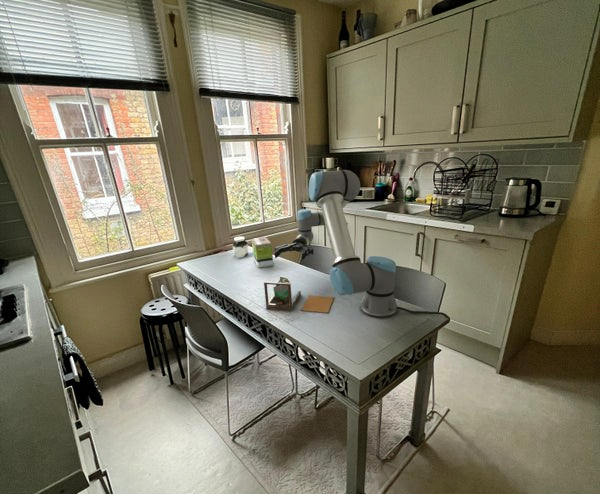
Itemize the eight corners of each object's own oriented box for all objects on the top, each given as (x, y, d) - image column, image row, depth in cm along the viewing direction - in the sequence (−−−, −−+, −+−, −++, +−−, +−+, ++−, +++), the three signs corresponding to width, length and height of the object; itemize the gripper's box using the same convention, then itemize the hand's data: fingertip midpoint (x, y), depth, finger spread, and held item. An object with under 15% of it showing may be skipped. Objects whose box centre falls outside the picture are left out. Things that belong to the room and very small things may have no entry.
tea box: (253, 260, 205) (251, 238, 199) (268, 258, 208) (266, 236, 201) (257, 268, 192) (255, 244, 186) (273, 265, 194) (271, 242, 188)
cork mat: (333, 298, 150) (333, 297, 149) (327, 313, 136) (327, 312, 136) (309, 296, 153) (309, 295, 152) (301, 310, 139) (301, 310, 139)
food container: (288, 307, 143) (286, 287, 138) (274, 307, 144) (273, 287, 140) (293, 296, 154) (292, 277, 149) (281, 295, 155) (280, 276, 151)
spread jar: (244, 251, 223) (242, 235, 219) (253, 255, 215) (251, 238, 211) (229, 255, 217) (227, 239, 212) (238, 259, 209) (235, 242, 204)
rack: (301, 295, 154) (300, 270, 148) (291, 311, 139) (290, 284, 134) (277, 293, 157) (275, 269, 151) (266, 308, 143) (263, 282, 137)
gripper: (323, 250, 167) (314, 264, 149) (279, 249, 174) (265, 262, 155) (323, 237, 164) (314, 249, 146) (278, 235, 170) (263, 247, 152)
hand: (289, 256), depth 150 cm, fingers open, 13 cm apart
